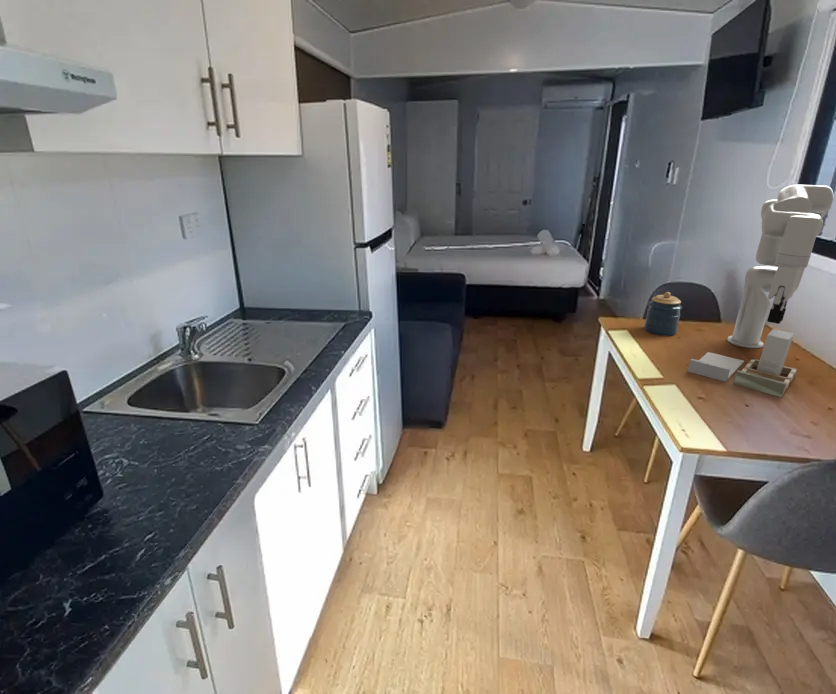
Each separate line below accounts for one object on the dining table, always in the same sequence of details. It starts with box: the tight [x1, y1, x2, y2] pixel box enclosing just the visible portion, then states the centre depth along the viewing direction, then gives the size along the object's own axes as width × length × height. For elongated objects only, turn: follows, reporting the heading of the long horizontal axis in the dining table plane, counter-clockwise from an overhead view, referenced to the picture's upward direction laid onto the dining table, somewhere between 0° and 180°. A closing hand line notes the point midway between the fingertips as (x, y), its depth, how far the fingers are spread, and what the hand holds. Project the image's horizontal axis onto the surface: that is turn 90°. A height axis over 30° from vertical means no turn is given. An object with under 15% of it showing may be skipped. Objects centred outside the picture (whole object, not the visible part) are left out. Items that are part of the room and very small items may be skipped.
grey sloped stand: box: [687, 351, 745, 383], centre depth 176 cm, size 24×12×4 cm, turn 136°
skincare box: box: [756, 328, 795, 376], centre depth 168 cm, size 8×7×16 cm
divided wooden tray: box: [733, 358, 798, 398], centre depth 166 cm, size 24×13×4 cm, turn 136°
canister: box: [644, 291, 683, 337], centre depth 210 cm, size 13×13×18 cm
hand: (774, 320), depth 147 cm, fingers open, 2 cm apart
